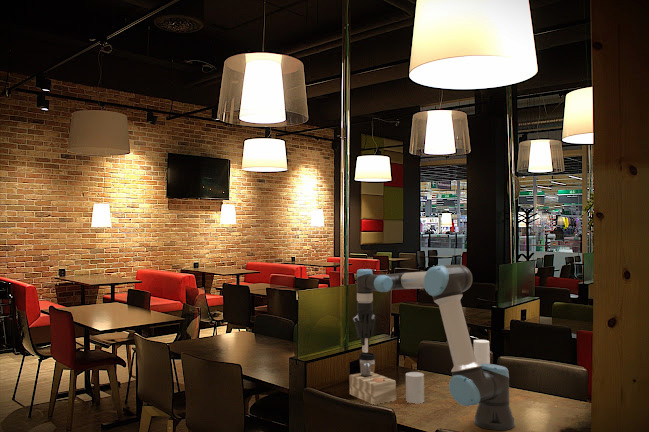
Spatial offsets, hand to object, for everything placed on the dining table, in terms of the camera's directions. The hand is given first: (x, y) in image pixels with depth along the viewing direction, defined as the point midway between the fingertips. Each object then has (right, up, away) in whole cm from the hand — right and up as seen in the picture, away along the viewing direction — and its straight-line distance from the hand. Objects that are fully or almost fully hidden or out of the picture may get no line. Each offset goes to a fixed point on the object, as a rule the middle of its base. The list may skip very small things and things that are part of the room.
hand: (365, 351), depth 261 cm
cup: (+22, -20, -11) cm, 31 cm away
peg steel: (0, -14, -1) cm, 14 cm away
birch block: (+3, -20, -5) cm, 21 cm away
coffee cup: (+3, -21, +19) cm, 28 cm away
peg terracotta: (+5, -19, -9) cm, 22 cm away
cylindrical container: (+54, -19, -4) cm, 58 cm away
